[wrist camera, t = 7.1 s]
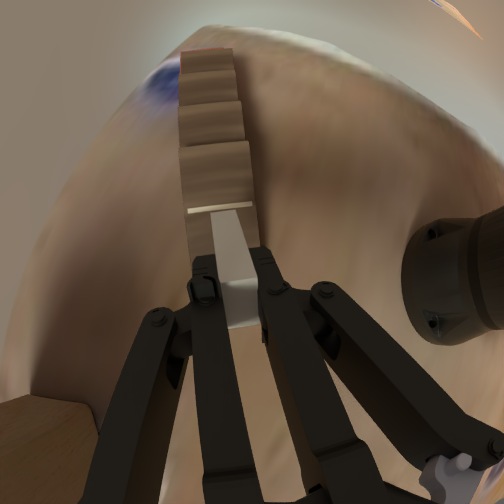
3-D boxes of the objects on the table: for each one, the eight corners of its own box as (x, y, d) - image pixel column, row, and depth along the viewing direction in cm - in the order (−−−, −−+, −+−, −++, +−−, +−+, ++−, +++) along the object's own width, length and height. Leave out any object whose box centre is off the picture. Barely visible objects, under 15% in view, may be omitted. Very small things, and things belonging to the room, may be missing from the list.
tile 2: (253, 213, 24) (241, 100, 23) (186, 220, 24) (177, 106, 22) (250, 213, 26) (239, 107, 25) (188, 220, 25) (179, 113, 24)
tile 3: (244, 165, 25) (235, 69, 24) (182, 171, 25) (178, 74, 23) (242, 168, 27) (234, 76, 25) (184, 173, 26) (180, 81, 25)
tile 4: (239, 127, 26) (232, 48, 25) (182, 132, 26) (181, 52, 24) (237, 132, 28) (231, 55, 27) (183, 137, 27) (182, 59, 26)
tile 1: (262, 267, 23) (248, 140, 22) (192, 276, 23) (178, 148, 21) (259, 264, 25) (246, 145, 24) (194, 272, 24) (180, 152, 23)
